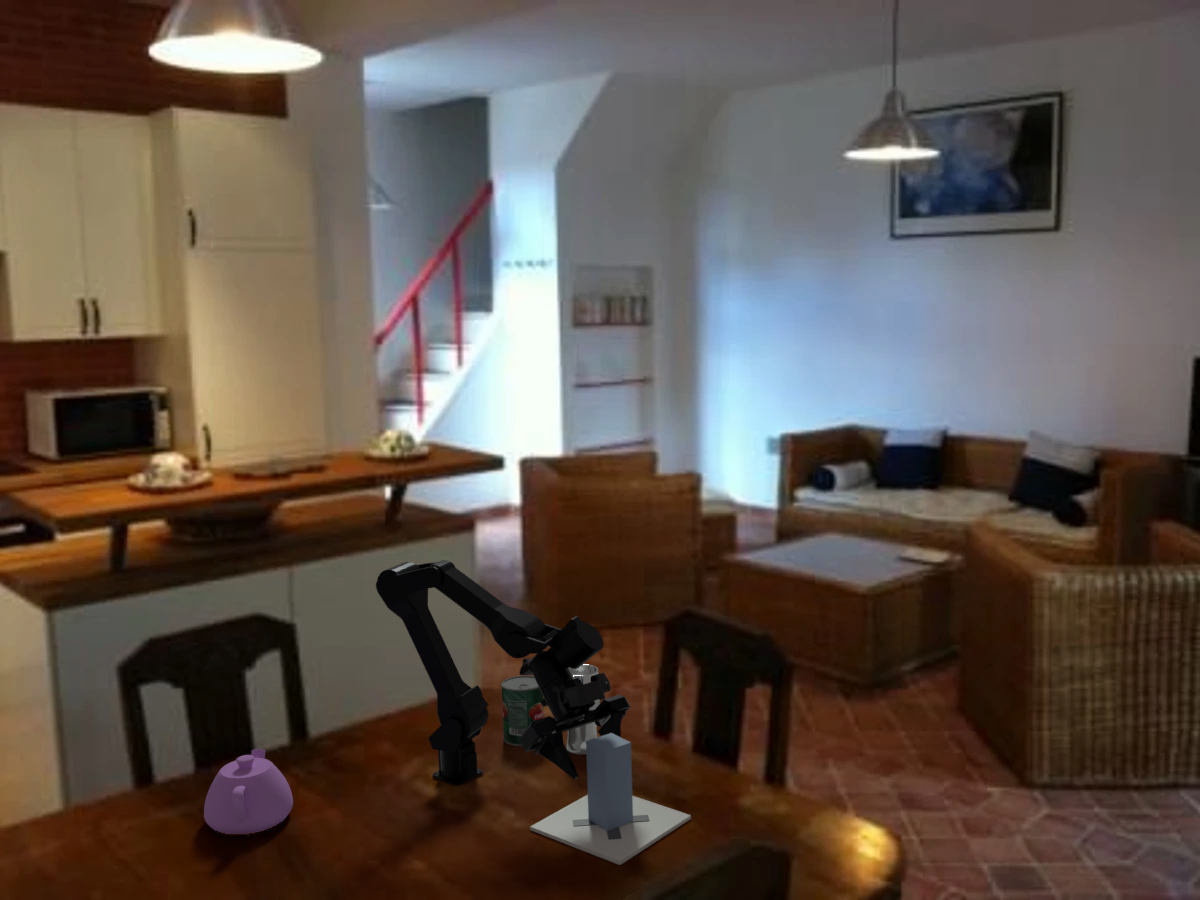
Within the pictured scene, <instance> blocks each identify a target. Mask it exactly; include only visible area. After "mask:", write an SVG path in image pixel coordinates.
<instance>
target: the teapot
mask: <svg viewBox="0 0 1200 900" xmlns="http://www.w3.org/2000/svg"><path fill="white" fill-rule="evenodd" d="M293 805H294V798H293V794H292V789H291V788H290V784H289V783H288V781H287V779H286V777H285V776H284V775H283V773H282V772H281V771H280V770H279V768H278V767H277V766H276V765H275V764H274V763H273V762H272V761H271V760H270V759H267V758H266V750H265V749H260V748H255V749H251V752H250V754H244V755H241V756H238V757H237V758H235V760H233V761H231V762H229V763H227V764H225V765H224V766H223V767H221V768H220V770H219V771H218V772H217V773H216V775H215V777H214V779H213V781H212V782H211V784H210V786H209V789H208V792H207V793H206V797H205V801H204V808H203V818H204V821H205V822H206V824H207V825H208V826H209V827H210V828H211V829H212V830H214V831H215V832H216V831H218V832H221V833H225V834H249V833H255V832H260V831H264V830H266V829H269V828H272V827H273V826H276V825H277V824H279V823H280V822H281V823H282V822H283V821H284V820H285V819H287V817H288V815H289V814H290V812H291V811H292V808H293ZM281 823H280V824H281ZM280 824H279V825H280ZM277 826H278V825H277ZM277 826H276V827H277ZM272 829H273V828H272ZM218 832H217V833H218Z"/></svg>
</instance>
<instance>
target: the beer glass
mask: <svg viewBox="0 0 1200 900" xmlns="http://www.w3.org/2000/svg"><path fill="white" fill-rule="evenodd" d="M568 669H569V671H570V673H571V674H572V676H573V678H574V679H576V678H579V679H580V680H581V682H582V684H586V683H590V682H591V676H593V675H596V674H599V668H598V666H596V665H592V664H586V663H584V664H583V665H582V666H580V667H579V668H577V669H573V668H570V667H569V668H568ZM600 703H601V700H599V699H598V700H595V705H594V706H593V707H590V708H589V710H590V711H591V710H594V709H596V708H597V707H598V705H599V704H600ZM582 720H584V718H583V719H582ZM579 721H580V720H579ZM597 727H598V726H597V725H596V724H595V722H593V723H590V724H587V725H583V726H580V727H577V728H574V729H571V730H568V731H567V738H566V739H567V740H566V745H565V748H566V750H567V752H568V753H569V754H573V755H574V754H575V755H587V753H586V741H588V740H591V739H594V738H597V737H598V729H597Z"/></svg>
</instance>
